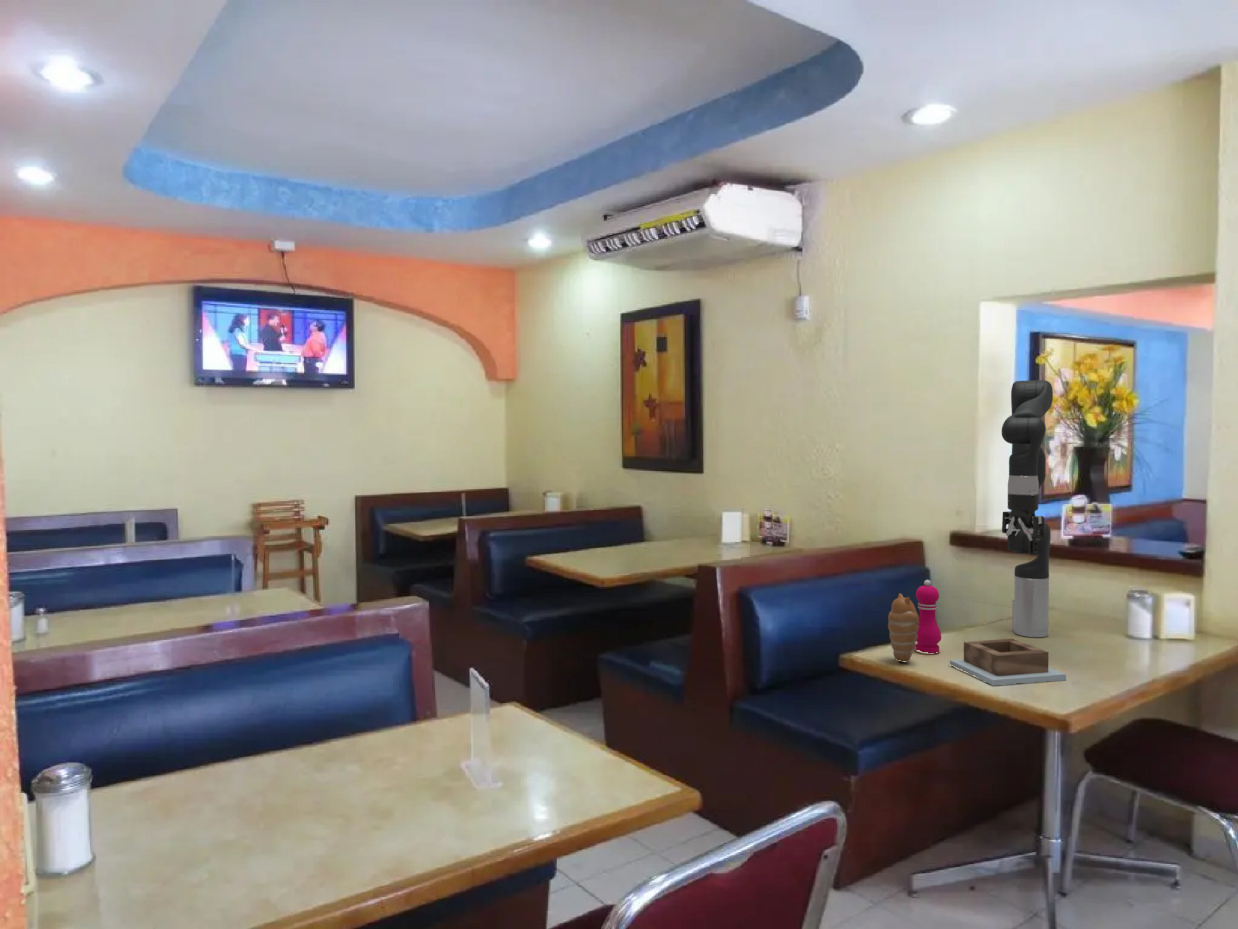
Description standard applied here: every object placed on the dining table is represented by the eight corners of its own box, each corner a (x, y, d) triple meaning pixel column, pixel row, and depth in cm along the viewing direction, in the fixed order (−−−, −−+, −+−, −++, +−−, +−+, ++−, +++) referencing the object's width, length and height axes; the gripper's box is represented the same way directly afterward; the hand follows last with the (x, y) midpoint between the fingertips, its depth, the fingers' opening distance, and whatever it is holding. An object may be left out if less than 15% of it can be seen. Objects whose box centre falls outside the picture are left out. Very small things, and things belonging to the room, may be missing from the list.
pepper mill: (920, 646, 245) (921, 576, 244) (945, 651, 240) (946, 579, 239) (908, 651, 240) (908, 580, 239) (933, 656, 235) (934, 583, 234)
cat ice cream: (924, 666, 226) (925, 597, 225) (896, 667, 225) (896, 598, 224) (908, 657, 235) (908, 591, 234) (881, 658, 233) (881, 592, 232)
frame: (963, 661, 225) (963, 641, 224) (1011, 657, 228) (1011, 638, 227) (997, 676, 211) (997, 656, 211) (1048, 672, 214) (1048, 652, 214)
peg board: (949, 665, 226) (949, 650, 226) (1017, 660, 230) (1018, 645, 230) (992, 686, 208) (993, 669, 208) (1065, 680, 212) (1066, 664, 212)
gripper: (993, 490, 239) (993, 549, 239) (1028, 494, 225) (1027, 557, 225) (1018, 489, 240) (1017, 548, 241) (1053, 493, 226) (1053, 555, 227)
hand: (1022, 552), depth 233 cm, fingers open, 8 cm apart
